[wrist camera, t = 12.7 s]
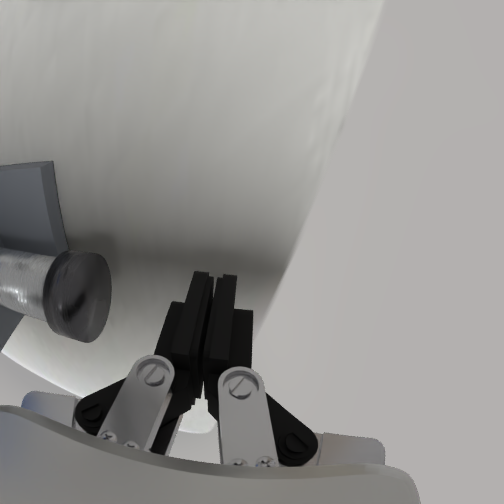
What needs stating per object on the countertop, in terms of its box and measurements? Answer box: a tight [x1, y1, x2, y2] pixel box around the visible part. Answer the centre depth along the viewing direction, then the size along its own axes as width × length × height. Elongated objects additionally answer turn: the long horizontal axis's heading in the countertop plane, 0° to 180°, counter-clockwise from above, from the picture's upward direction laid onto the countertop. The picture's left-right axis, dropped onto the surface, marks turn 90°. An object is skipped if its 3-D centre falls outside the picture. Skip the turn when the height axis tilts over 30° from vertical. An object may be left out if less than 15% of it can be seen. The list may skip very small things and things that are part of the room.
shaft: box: [0, 247, 112, 343], centre depth 10 cm, size 11×4×4 cm, turn 84°
